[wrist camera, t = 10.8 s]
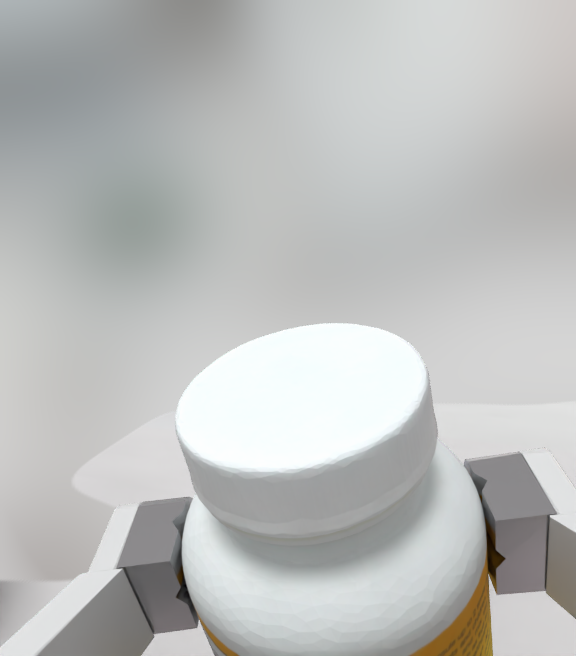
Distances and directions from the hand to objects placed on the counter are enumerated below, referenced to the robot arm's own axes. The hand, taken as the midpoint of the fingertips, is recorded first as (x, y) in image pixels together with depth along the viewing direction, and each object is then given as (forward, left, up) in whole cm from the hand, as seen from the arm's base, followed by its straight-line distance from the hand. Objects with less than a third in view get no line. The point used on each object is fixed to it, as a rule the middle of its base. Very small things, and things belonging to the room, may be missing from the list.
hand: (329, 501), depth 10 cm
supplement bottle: (+1, -1, -6) cm, 6 cm away
